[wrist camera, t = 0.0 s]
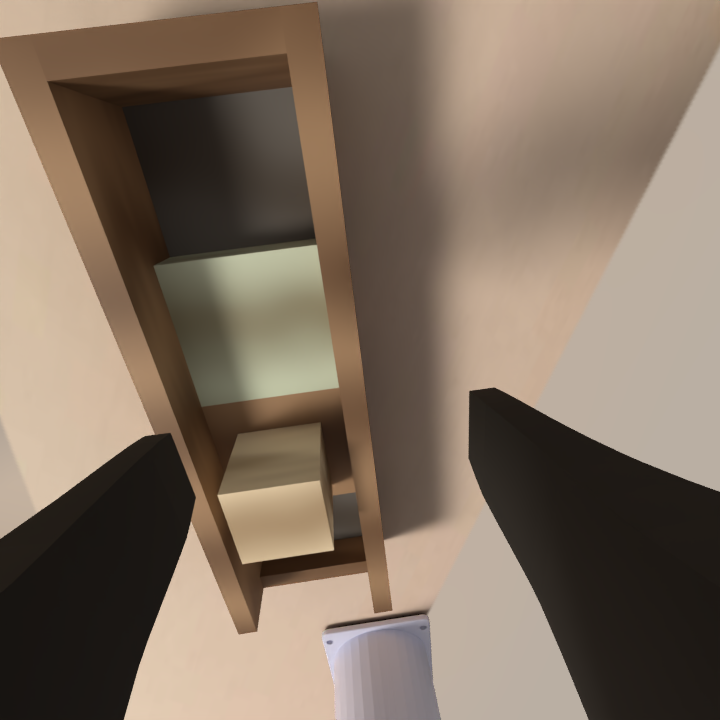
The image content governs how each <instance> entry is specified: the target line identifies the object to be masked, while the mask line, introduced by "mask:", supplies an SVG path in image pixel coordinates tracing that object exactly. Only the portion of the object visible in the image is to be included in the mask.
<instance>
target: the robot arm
mask: <svg viewBox="0 0 720 720" xmlns="http://www.w3.org/2000/svg"><path fill="white" fill-rule="evenodd" d="M469 460H470V463H471V466H472V469H473V471H474V474H475V477H476V479H477V482H478V484H479V487H480V489H481V492H482V494H483V496H484V498H485V500H486V502H487V504H488V506H489V508H490V509H491V512H492V513H493V515H494V517H495V519H496V521H497V523H498V525H499V527H500V528H501V530H502V532H503V534H504V536H505V538H506V539H507V541H508V543H509V545H510V547H511V548H512V551H513V552H514V554H515V556H516V558H517V560H518V562H519V563H520V565H521V567H522V569H523V571H524V572H525V575H526V576H527V578H528V580H529V582H530V584H531V586H532V588H533V590H534V592H535V594H536V596H537V598H538V600H539V602H540V604H541V606H542V609H543V611H544V613H545V616H546V618H547V620H548V622H549V625H550V627H551V630H552V632H553V634H554V637H555V639H556V641H557V644H558V646H559V648H560V651H561V653H562V655H563V658H564V660H565V663H566V665H567V667H568V670H569V672H570V675H571V677H572V680H573V682H574V685H575V687H576V689H577V692H578V694H579V697H580V699H581V702H582V704H583V707H584V709H585V711H586V714H587V717H588V719H589V720H720V492H719V491H716V490H713V489H710V488H707V487H705V486H702V485H699V484H696V483H694V482H691V481H688V480H685V479H683V478H681V477H678V476H676V475H673V474H671V473H668V472H666V471H663V470H661V469H658V468H656V467H653V466H651V465H648V464H646V463H643V462H641V461H639V460H636V459H634V458H631V457H629V456H627V455H625V454H622V453H620V452H618V451H616V450H614V449H612V448H610V447H608V446H605V445H603V444H601V443H599V442H597V441H595V440H593V439H591V438H589V437H587V436H585V435H583V434H581V433H579V432H577V431H575V430H573V429H571V428H569V427H567V426H565V425H563V424H561V423H560V422H558V421H556V420H554V419H552V418H550V417H548V416H547V415H545V414H543V413H541V412H539V411H537V410H536V409H534V408H532V407H530V406H528V405H527V404H525V403H523V402H521V401H519V400H518V399H516V398H514V397H512V396H510V395H508V394H506V393H505V392H503V391H501V390H498V389H496V388H488V389H481V390H474V391H469ZM195 500H196V496H195V493H194V491H193V488H192V486H191V483H190V481H189V478H188V475H187V473H186V470H185V468H184V465H183V463H182V460H181V458H180V455H179V453H178V450H177V447H176V445H175V442H174V440H173V437H172V435H171V433H164V434H157V435H150V436H144V437H143V438H141V439H140V440H138V441H136V442H135V443H133V444H132V445H130V446H129V447H127V448H126V449H124V450H123V451H122V452H120V453H119V454H117V455H116V456H115V457H113V458H112V459H111V460H109V461H108V462H107V463H105V464H104V465H103V466H101V467H100V468H99V469H97V470H96V471H94V472H93V473H92V474H90V475H89V476H88V477H86V478H85V479H84V480H82V481H81V482H80V483H78V484H77V485H76V486H74V487H73V488H72V489H70V490H69V491H68V492H66V493H65V494H63V495H62V496H61V497H59V498H58V499H57V500H55V501H54V502H52V503H51V504H50V505H48V506H47V507H45V508H44V509H42V510H41V511H40V512H38V513H37V514H35V515H34V516H32V517H31V518H30V519H28V520H27V521H25V522H24V523H23V524H21V525H20V526H18V527H17V528H15V529H14V530H13V531H11V532H10V533H8V534H7V535H5V536H4V537H3V538H1V539H0V720H124V717H125V713H126V710H127V706H128V702H129V699H130V695H131V692H132V688H133V685H134V681H135V678H136V674H137V671H138V667H139V664H140V661H141V659H142V656H143V653H144V650H145V647H146V644H147V641H148V638H149V636H150V633H151V631H152V628H153V625H154V623H155V620H156V618H157V615H158V612H159V610H160V607H161V605H162V602H163V599H164V597H165V594H166V592H167V589H168V586H169V584H170V581H171V579H172V576H173V573H174V571H175V568H176V565H177V563H178V560H179V557H180V555H181V552H182V549H183V546H184V544H185V541H186V538H187V534H188V530H189V526H190V522H191V518H192V514H193V509H194V504H195ZM322 640H323V644H324V648H325V652H326V655H327V659H328V663H329V667H330V671H331V674H332V678H333V682H334V689H335V720H441V718H440V713H439V708H438V704H437V699H436V694H435V689H434V685H433V675H432V658H431V640H430V623H429V618H428V616H427V615H424V614H421V615H415V616H408V617H402V618H396V619H389V620H383V621H376V622H370V623H364V624H357V625H351V626H344V627H338V628H332V629H326V630H324V631H323V632H322Z"/></svg>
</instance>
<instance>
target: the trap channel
mask: <svg viewBox="0 0 720 720" xmlns="http://www.w3.org/2000/svg"><path fill="white" fill-rule="evenodd" d="M0 64H1V67H2V69H3V71H4V74H5V76H6V79H7V81H8V83H9V86H10V88H11V91H12V93H13V95H14V98H15V100H16V103H17V105H18V107H19V110H20V112H21V115H22V117H23V119H24V122H25V124H26V127H27V129H28V131H29V134H30V136H31V138H32V141H33V143H34V146H35V148H36V150H37V153H38V155H39V158H40V160H41V162H42V165H43V167H44V170H45V172H46V174H47V177H48V179H49V182H50V184H51V186H52V189H53V191H54V194H55V196H56V198H57V201H58V203H59V205H60V208H61V210H62V213H63V215H64V217H65V220H66V222H67V225H68V227H69V229H70V232H71V234H72V237H73V239H74V241H75V244H76V246H77V249H78V251H79V253H80V256H81V258H82V261H83V263H84V265H85V268H86V270H87V272H88V275H89V277H90V280H91V282H92V284H93V287H94V289H95V292H96V294H97V296H98V299H99V301H100V304H101V306H102V308H103V311H104V313H105V316H106V318H107V320H108V323H109V325H110V328H111V330H112V332H113V335H114V337H115V339H116V342H117V344H118V347H119V349H120V351H121V354H122V356H123V359H124V361H125V363H126V366H127V368H128V371H129V373H130V375H131V378H132V380H133V383H134V385H135V387H136V390H137V392H138V395H139V397H140V399H141V402H142V404H143V406H144V409H145V411H146V414H147V416H148V418H149V421H150V423H151V426H152V428H153V430H154V433H155V435H157V434H164V433H171V435H172V437H173V440H174V442H175V445H176V447H177V450H178V453H179V455H180V458H181V460H182V463H183V465H184V468H185V470H186V473H187V475H188V478H189V481H190V483H191V486H192V488H193V491H194V493H195V496H196V500H195V504H194V509H193V514H192V518H191V521H192V524H193V526H194V529H195V531H196V533H197V536H198V538H199V540H200V543H201V545H202V548H203V550H204V552H205V555H206V557H207V560H208V562H209V564H210V567H211V569H212V572H213V574H214V576H215V579H216V581H217V584H218V586H219V588H220V591H221V593H222V596H223V598H224V600H225V603H226V605H227V607H228V610H229V612H230V615H231V617H232V619H233V622H234V624H235V627H236V629H237V631H238V634H244V633H250V632H257V628H258V621H259V614H260V608H261V601H262V594H263V588H266V587H273V586H280V585H286V584H293V583H299V582H306V581H312V580H319V579H325V578H332V577H339V576H345V575H352V574H358V573H365V572H368V575H369V582H370V588H371V594H372V601H373V607H374V613H379V612H386V611H392V603H391V595H390V587H389V579H388V571H387V563H386V555H385V547H384V539H383V531H382V522H381V514H380V506H379V498H378V490H377V482H376V474H375V466H374V458H373V450H372V441H371V433H370V425H369V417H368V409H367V401H366V393H365V385H364V377H363V369H362V360H361V352H360V344H359V336H358V328H357V320H356V312H355V304H354V296H353V288H352V280H351V271H350V263H349V255H348V247H347V239H346V231H345V223H344V215H343V207H342V199H341V190H340V182H339V174H338V166H337V158H336V150H335V142H334V134H333V126H332V118H331V110H330V101H329V93H328V85H327V77H326V69H325V61H324V53H323V45H322V37H321V29H320V20H319V12H318V4H317V2H313V3H304V4H295V5H286V6H277V7H268V8H260V9H251V10H242V11H233V12H224V13H216V14H207V15H198V16H189V17H180V18H171V19H163V20H154V21H145V22H136V23H127V24H119V25H110V26H101V27H92V28H83V29H74V30H66V31H57V32H48V33H39V34H30V35H22V36H13V37H4V38H0ZM318 422H321V427H322V432H323V438H324V443H325V448H326V454H327V459H328V464H329V469H330V475H331V480H332V489H333V528H334V550H333V551H326V552H319V553H313V554H306V555H300V556H293V557H286V558H280V559H273V560H266V561H260V562H253V563H246V564H242V562H241V559H240V556H239V553H238V551H237V548H236V545H235V542H234V540H233V537H232V534H231V531H230V529H229V526H228V523H227V520H226V518H225V515H224V512H223V509H222V507H221V504H220V501H219V498H218V496H217V495H218V492H219V489H220V486H221V483H222V480H223V477H224V474H225V471H226V468H227V465H228V462H229V459H230V456H231V453H232V450H233V447H234V444H235V441H236V438H237V436H238V434H241V433H248V432H255V431H262V430H269V429H276V428H283V427H290V426H297V425H304V424H311V423H318Z"/></svg>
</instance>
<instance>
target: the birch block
mask: <svg viewBox="0 0 720 720" xmlns="http://www.w3.org/2000/svg"><path fill="white" fill-rule="evenodd" d="M217 496H218V498H219V501H220V504H221V507H222V509H223V512H224V515H225V518H226V520H227V523H228V526H229V529H230V531H231V534H232V537H233V540H234V542H235V545H236V548H237V551H238V553H239V556H240V559H241V562H242V564H246V563H253V562H260V561H266V560H273V559H280V558H286V557H293V556H300V555H306V554H313V553H319V552H326V551H333V550H334V528H333V489H332V480H331V475H330V469H329V464H328V459H327V454H326V448H325V443H324V438H323V432H322V427H321V422H318V423H311V424H304V425H297V426H290V427H283V428H276V429H269V430H262V431H255V432H248V433H241V434H238V436H237V438H236V441H235V444H234V447H233V450H232V453H231V456H230V459H229V462H228V465H227V468H226V471H225V474H224V477H223V480H222V483H221V486H220V489H219V492H218V495H217Z"/></svg>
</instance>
